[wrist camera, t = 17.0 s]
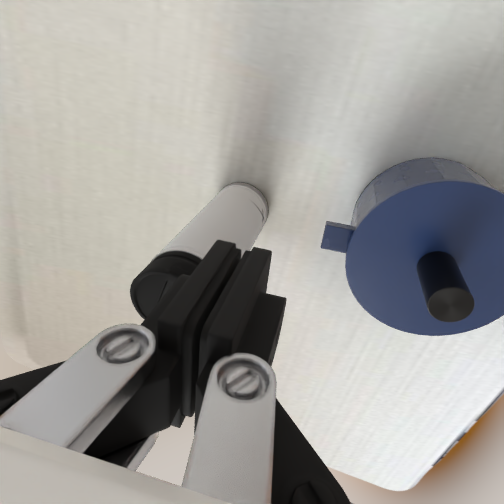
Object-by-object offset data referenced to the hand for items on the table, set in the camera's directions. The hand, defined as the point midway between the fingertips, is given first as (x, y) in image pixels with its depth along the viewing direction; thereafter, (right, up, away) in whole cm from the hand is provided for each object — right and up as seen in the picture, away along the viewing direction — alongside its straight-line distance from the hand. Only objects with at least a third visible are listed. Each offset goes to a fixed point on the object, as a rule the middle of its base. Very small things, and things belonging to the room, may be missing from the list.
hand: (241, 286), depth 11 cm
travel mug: (-1, +6, +31) cm, 32 cm away
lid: (+16, 0, +20) cm, 25 cm away
